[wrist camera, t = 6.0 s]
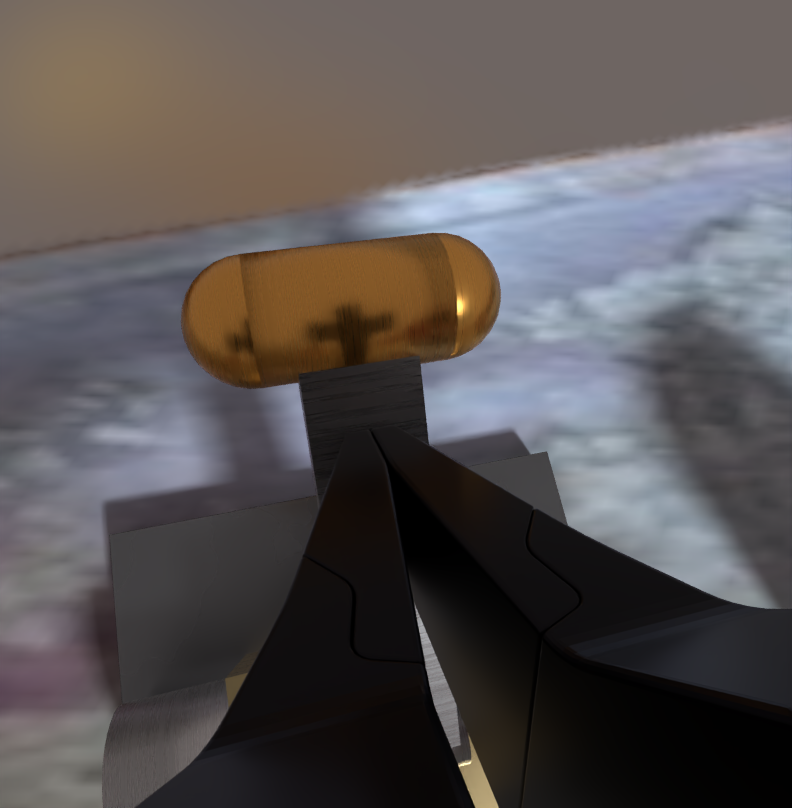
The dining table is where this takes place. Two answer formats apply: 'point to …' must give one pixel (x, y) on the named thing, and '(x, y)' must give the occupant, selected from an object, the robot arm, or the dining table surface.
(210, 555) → the valve base
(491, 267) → the lever
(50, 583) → the dining table surface
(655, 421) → the dining table surface
